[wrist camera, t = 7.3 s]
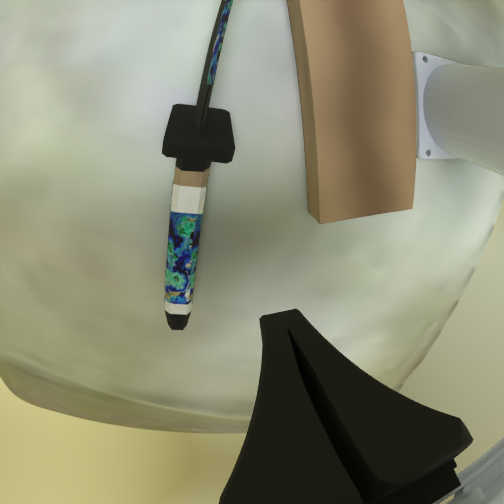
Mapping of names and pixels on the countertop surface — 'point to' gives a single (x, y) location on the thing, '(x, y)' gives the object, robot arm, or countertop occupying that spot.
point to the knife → (193, 177)
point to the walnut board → (355, 106)
